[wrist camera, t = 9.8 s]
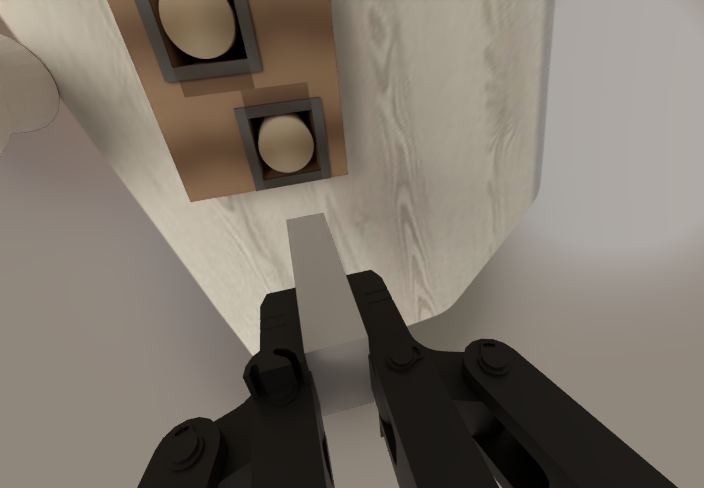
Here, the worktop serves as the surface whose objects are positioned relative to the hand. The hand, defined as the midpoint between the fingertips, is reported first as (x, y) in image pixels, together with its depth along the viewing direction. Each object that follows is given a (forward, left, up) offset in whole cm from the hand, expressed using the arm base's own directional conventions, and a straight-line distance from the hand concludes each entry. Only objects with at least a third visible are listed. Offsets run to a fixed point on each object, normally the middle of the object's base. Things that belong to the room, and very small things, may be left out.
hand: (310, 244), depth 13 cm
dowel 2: (0, 0, -24) cm, 24 cm away
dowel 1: (-9, -4, -24) cm, 26 cm away
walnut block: (-4, -2, -24) cm, 25 cm away
